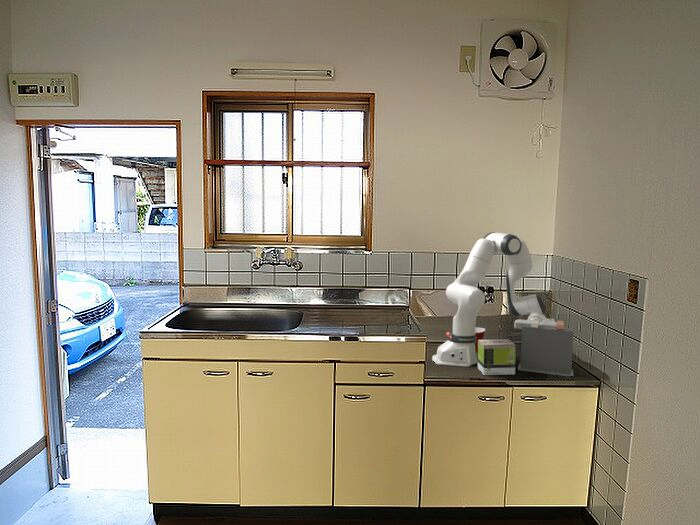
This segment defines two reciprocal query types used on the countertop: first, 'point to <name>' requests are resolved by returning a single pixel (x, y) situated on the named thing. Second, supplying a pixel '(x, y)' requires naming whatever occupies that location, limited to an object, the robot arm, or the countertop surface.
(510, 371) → the tea box
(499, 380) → the countertop surface
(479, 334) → the plastic cup
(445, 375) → the countertop surface
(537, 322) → the ivory key
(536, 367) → the panel
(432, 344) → the countertop surface
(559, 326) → the terracotta key
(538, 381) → the countertop surface
